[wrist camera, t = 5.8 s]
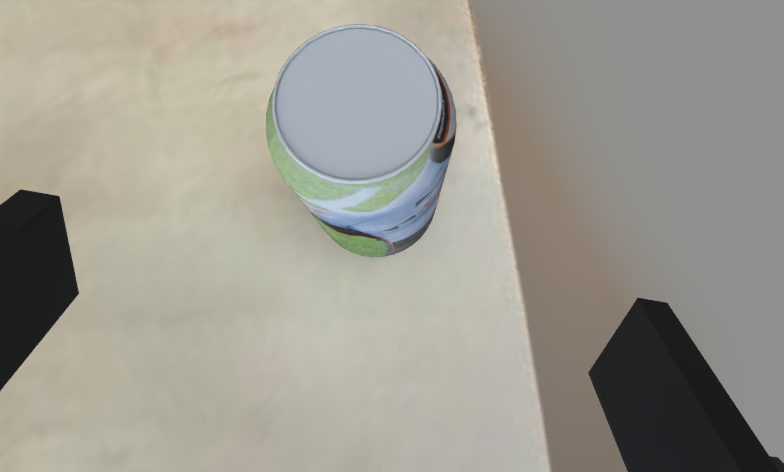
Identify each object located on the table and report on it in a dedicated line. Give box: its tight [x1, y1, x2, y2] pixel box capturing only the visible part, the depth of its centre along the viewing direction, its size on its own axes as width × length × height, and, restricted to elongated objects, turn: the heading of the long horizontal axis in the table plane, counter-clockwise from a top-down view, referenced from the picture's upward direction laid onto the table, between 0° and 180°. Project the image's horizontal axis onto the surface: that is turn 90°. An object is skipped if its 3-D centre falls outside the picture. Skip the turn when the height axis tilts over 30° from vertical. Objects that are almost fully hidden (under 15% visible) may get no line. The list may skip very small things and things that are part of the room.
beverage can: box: [266, 24, 456, 257], centre depth 20 cm, size 6×7×12 cm
